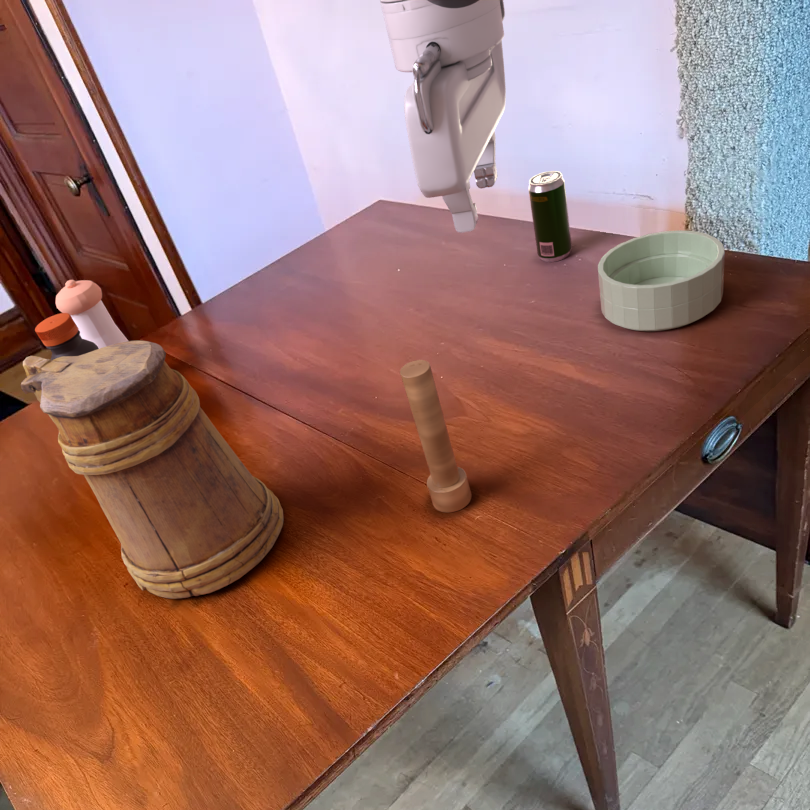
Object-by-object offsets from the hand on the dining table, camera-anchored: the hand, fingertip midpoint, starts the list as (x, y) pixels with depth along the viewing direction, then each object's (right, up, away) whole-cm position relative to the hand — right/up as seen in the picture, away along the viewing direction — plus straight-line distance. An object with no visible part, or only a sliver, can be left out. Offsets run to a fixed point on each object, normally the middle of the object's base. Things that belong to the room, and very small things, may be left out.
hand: (478, 205), depth 67 cm
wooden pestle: (-1, -26, +16) cm, 30 cm away
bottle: (-48, -16, +44) cm, 67 cm away
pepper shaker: (-52, -5, +57) cm, 77 cm away
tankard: (-32, -31, +22) cm, 49 cm away
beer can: (+17, +15, +52) cm, 57 cm away
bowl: (+28, +2, +34) cm, 44 cm away
